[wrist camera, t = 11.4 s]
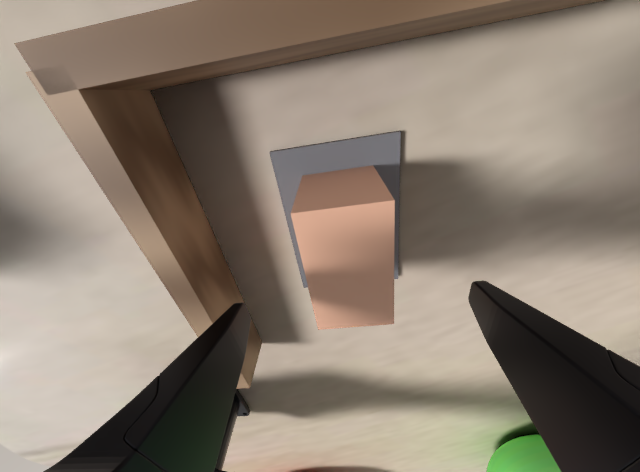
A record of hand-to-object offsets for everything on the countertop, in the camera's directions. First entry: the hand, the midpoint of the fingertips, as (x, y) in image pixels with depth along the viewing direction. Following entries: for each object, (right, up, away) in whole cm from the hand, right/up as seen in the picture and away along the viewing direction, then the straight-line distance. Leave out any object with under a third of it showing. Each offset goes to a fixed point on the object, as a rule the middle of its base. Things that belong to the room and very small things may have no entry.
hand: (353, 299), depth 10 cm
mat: (0, +3, +6) cm, 7 cm away
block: (0, +3, +6) cm, 7 cm away
